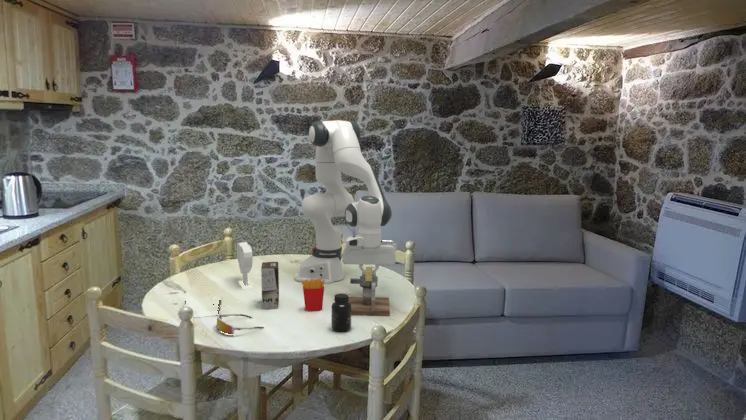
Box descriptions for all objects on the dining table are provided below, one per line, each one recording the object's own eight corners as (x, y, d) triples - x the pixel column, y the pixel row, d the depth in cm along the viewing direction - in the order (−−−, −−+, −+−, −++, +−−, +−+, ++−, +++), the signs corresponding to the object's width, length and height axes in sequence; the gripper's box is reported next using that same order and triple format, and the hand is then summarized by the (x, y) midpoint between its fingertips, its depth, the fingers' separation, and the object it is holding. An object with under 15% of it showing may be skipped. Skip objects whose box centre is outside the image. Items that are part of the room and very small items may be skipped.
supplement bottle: (353, 331, 170) (353, 298, 168) (333, 333, 168) (333, 300, 166) (348, 323, 177) (348, 291, 174) (329, 325, 175) (329, 293, 172)
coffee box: (278, 308, 189) (278, 267, 186) (261, 309, 188) (260, 268, 185) (279, 300, 198) (278, 261, 195) (262, 300, 197) (262, 261, 194)
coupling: (377, 289, 185) (377, 274, 184) (349, 288, 185) (349, 273, 184) (377, 281, 194) (377, 266, 193) (350, 281, 194) (351, 266, 193)
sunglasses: (210, 325, 173) (211, 311, 173) (251, 322, 182) (252, 308, 182) (223, 340, 162) (225, 325, 162) (266, 336, 171) (268, 322, 170)
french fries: (324, 307, 192) (323, 277, 190) (324, 310, 188) (324, 280, 186) (301, 307, 190) (301, 277, 188) (301, 311, 187) (301, 281, 184)
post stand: (389, 316, 184) (390, 285, 182) (346, 315, 184) (346, 284, 182) (388, 302, 198) (389, 273, 196) (348, 301, 198) (348, 272, 196)
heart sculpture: (236, 279, 222) (234, 240, 218) (247, 278, 224) (246, 239, 221) (243, 290, 208) (241, 249, 205) (255, 289, 210) (254, 248, 207)
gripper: (396, 238, 189) (395, 273, 192) (343, 237, 189) (342, 272, 192) (397, 242, 183) (396, 278, 185) (342, 241, 183) (341, 277, 186)
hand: (368, 275), depth 189 cm, fingers closed on coupling, 2 cm apart
